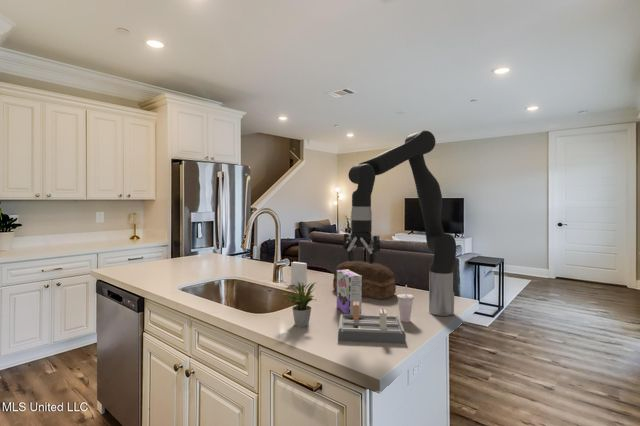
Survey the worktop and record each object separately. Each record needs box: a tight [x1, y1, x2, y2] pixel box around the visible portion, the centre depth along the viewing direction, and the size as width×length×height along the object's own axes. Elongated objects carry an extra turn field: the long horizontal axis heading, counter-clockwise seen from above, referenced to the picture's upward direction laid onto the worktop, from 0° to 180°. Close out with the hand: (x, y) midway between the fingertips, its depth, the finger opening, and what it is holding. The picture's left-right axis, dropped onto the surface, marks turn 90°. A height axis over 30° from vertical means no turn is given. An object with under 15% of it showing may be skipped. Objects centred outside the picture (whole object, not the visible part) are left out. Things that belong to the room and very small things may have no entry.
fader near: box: [379, 308, 388, 329], centre depth 118 cm, size 2×4×6 cm, turn 174°
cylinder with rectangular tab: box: [290, 261, 308, 287], centre depth 193 cm, size 9×9×12 cm
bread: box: [332, 260, 397, 300], centre depth 177 cm, size 15×32×16 cm, turn 52°
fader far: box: [353, 301, 359, 320], centre depth 127 cm, size 2×4×6 cm, turn 175°
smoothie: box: [396, 284, 415, 323], centre depth 135 cm, size 6×6×14 cm
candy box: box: [336, 269, 363, 315], centre depth 146 cm, size 14×6×16 cm, turn 19°
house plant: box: [281, 281, 318, 328], centre depth 132 cm, size 14×14×16 cm
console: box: [337, 313, 407, 344], centre depth 123 cm, size 22×16×4 cm
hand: (361, 262), depth 130 cm, fingers open, 8 cm apart
